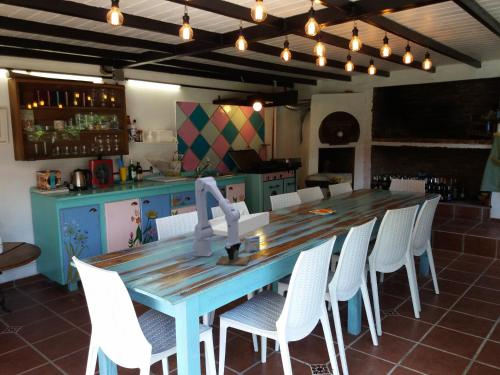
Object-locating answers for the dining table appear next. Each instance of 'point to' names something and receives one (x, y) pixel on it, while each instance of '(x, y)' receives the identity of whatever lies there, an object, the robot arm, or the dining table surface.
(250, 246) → the medicine box
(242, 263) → the post board
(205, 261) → the dining table surface
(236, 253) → the cap
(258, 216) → the white long open box
